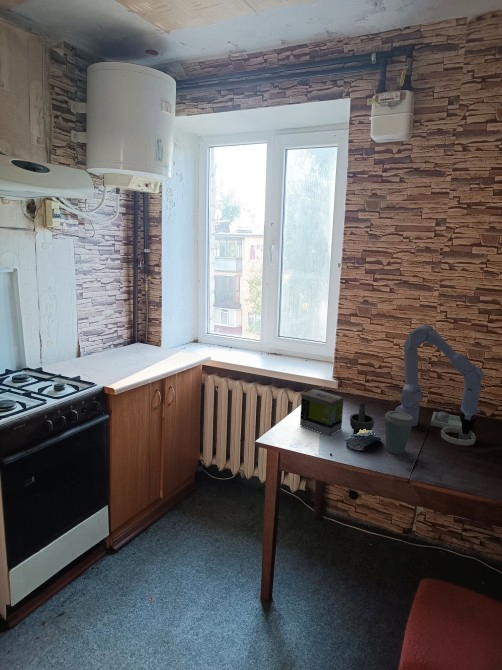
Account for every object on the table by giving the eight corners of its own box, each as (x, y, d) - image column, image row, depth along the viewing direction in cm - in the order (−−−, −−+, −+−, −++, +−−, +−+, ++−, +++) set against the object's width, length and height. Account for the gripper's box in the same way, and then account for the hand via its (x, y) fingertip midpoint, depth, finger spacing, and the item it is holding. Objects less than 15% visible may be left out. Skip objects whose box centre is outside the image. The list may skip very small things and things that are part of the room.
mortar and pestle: (373, 440, 178) (375, 412, 175) (349, 437, 180) (351, 410, 177) (371, 428, 189) (374, 402, 186) (349, 426, 191) (351, 400, 188)
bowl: (456, 449, 172) (457, 442, 172) (434, 435, 184) (435, 428, 183) (481, 445, 176) (482, 438, 176) (458, 432, 188) (459, 425, 187)
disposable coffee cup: (386, 441, 177) (390, 406, 174) (414, 449, 171) (418, 413, 168) (377, 451, 169) (381, 414, 165) (405, 460, 163) (410, 422, 159)
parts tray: (430, 427, 192) (431, 420, 191) (433, 417, 202) (433, 411, 201) (467, 434, 185) (468, 428, 185) (468, 424, 195) (469, 418, 195)
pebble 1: (441, 424, 192) (443, 416, 191) (434, 420, 196) (436, 412, 195) (450, 423, 193) (451, 415, 192) (443, 419, 197) (444, 411, 196)
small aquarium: (342, 429, 187) (344, 396, 184) (329, 437, 180) (331, 402, 177) (312, 419, 197) (314, 387, 194) (299, 425, 190) (300, 393, 186)
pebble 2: (464, 443, 176) (465, 433, 175) (456, 438, 180) (457, 429, 179) (473, 441, 177) (474, 432, 176) (465, 437, 181) (466, 427, 181)
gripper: (481, 406, 167) (476, 439, 170) (482, 394, 179) (477, 425, 182) (461, 402, 170) (456, 435, 173) (462, 391, 182) (458, 421, 186)
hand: (465, 430), depth 178 cm, fingers open, 7 cm apart
